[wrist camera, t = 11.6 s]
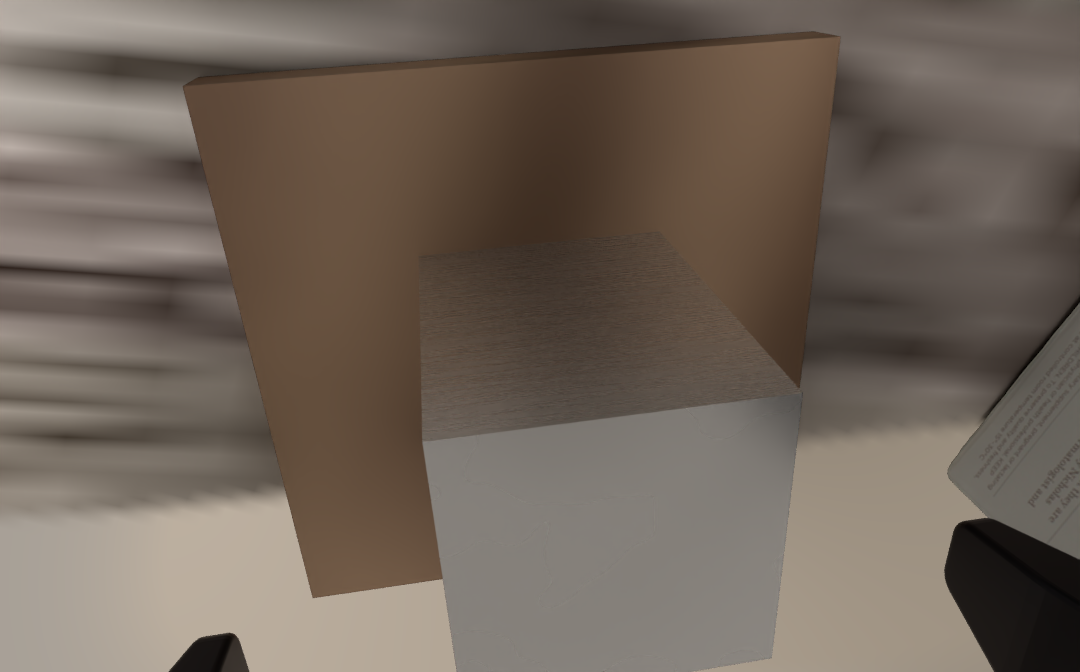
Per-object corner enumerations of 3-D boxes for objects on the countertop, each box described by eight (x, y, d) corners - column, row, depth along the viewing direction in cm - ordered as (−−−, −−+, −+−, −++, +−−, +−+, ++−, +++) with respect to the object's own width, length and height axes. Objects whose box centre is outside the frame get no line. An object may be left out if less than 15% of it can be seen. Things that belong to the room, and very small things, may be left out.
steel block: (659, 231, 14) (802, 392, 9) (655, 430, 16) (771, 658, 11) (418, 256, 14) (422, 441, 9) (446, 458, 16) (462, 709, 11)
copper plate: (813, 31, 14) (840, 36, 13) (766, 502, 19) (783, 528, 18) (198, 77, 13) (182, 86, 12) (317, 566, 18) (312, 597, 17)
